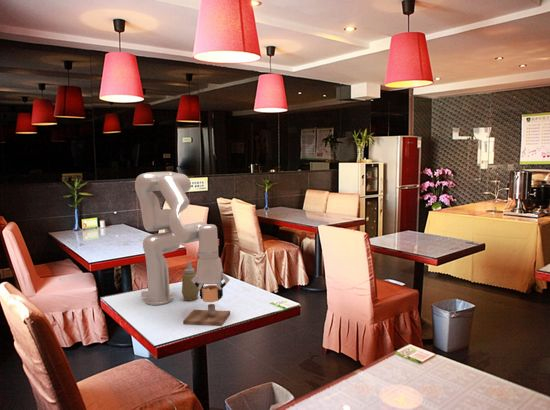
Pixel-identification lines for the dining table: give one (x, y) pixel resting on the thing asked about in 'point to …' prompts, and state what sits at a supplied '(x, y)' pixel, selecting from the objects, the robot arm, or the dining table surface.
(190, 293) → the squeeze bottle
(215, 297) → the terracotta pot
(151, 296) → the robot arm
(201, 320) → the hub board
